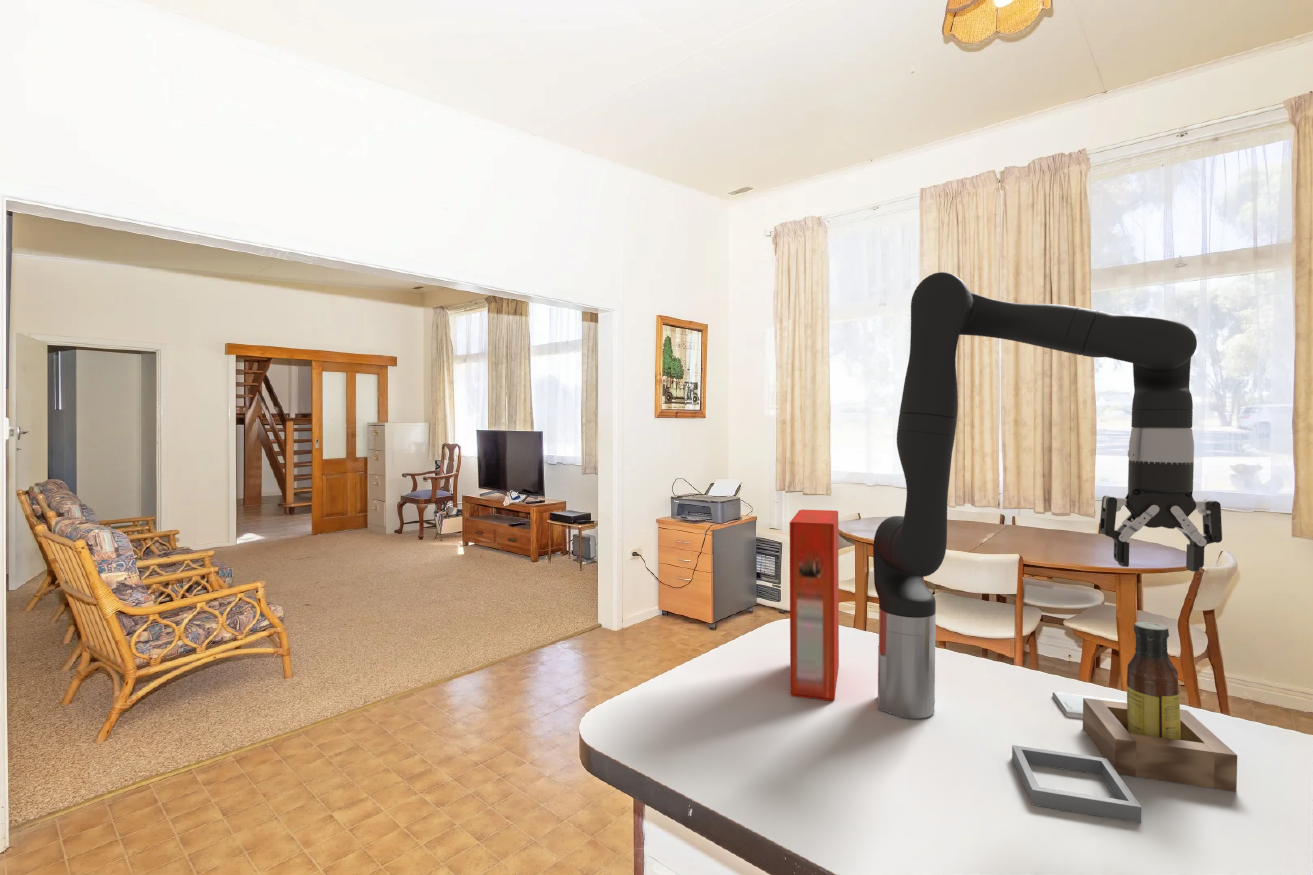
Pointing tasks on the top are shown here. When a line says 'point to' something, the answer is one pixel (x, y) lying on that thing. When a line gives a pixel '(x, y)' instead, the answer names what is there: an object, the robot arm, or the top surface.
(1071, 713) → the hard drive
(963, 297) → the robot arm
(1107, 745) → the holder
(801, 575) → the file binder
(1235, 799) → the top surface
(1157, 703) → the sauce bottle
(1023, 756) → the square frame
